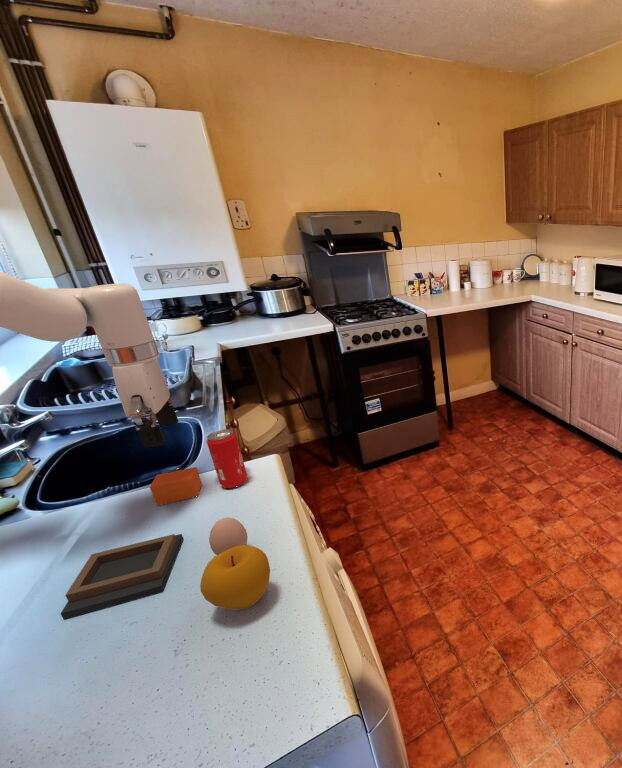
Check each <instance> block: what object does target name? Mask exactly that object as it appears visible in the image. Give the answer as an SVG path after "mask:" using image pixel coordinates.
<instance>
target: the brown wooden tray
mask: <svg viewBox="0 0 622 768" xmlns="http://www.w3.org/2000/svg"><path fill="white" fill-rule="evenodd" d="M183 542H184V536H183V534H182V533H179V534H174V533H173V534H169V535H165V536H160V537H155V538H152V539H147V540H144V541H141V542H136V543H132V544H128V545H124V546H120V547H115V548H112V549H107V550H103V551H99V552H95V553H92V554H91V555H90V557H88V559H87V561H86V562H85V564H84V565H83V567H82V569H81V570H80V571H79V573H78V575H77V576H76V578H75V580H74V581H73V583H71V586H70V587H69V589H68V590H67V592H66V594H65V598H66V600H67V603H66V604H65V606H64V607H63V609H62V610H61V611H60V616H61V618H62V619H63V620H67V619H71V618H74V617H78V616H81V615H85V614H88V613H93V612H95V611H100V610H102V609H106V608H109V607H114V606H117V605H120V604H124V603H127V602H131V601H135V600H138V599H143V598H146V597H149V596H153V595H156V594H159V593H163V592H164V590H165V588H166V585H167V583H168V580H169V577H170V575H171V572H172V570H173V567H174V565H175V562H176V559H177V557H178V554H179V551H180V549H181V547H182V545H183Z"/></svg>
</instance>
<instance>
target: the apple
mask: <svg viewBox="0 0 622 768" xmlns="http://www.w3.org/2000/svg"><path fill="white" fill-rule="evenodd" d="M270 577H271V567H270V562H269V559H268V556H267V554H266V553H265V552H264V551H263V550H262V549H260V548H259V547H256V546H252V545H247V544H246V545H241V546H236V547H233V548H231V549H228V550H226V551H224V552H222V553H220V554H219V555H215V556H213V557H212V559H211V560H210V561H209V562H207V564H206V565H205V568H204V570H203V573H202V576H201V579H200V593H201V594H202V596H203V598H204V599H205V601H207V602H209V603H210V604H211V605H213V606H214V607H219V608H223V609H226V610H227V609H228V610H233V611H234V610H236V611H237V610H238V611H240V610H245V609H248V608H251V607H252V606H254V605H255V604H256V603H257V602H258V601H260V600H261V598H262V597H263V596H264V595H265V593H266V591H267V588H268V586H269V582H270V579H271V578H270Z"/></svg>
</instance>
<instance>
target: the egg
mask: <svg viewBox="0 0 622 768" xmlns="http://www.w3.org/2000/svg"><path fill="white" fill-rule="evenodd" d="M208 543H209V547H210V550H211V551H212V552H213V553H214V555H215V556H217V555H219V554H220V553H222V552H224V551H226V550H228V549H231V548H233V547H236V546H241V545H247V543H248V532H247V529H246V528H245V526H244V525H243V523H241V521H239V520H238V519H235V518H233V517H222V518H219V520H217V521H215V523H214V524H213V525H212V527H211V529H210V532H209V537H208Z"/></svg>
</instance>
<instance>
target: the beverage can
mask: <svg viewBox="0 0 622 768" xmlns="http://www.w3.org/2000/svg"><path fill="white" fill-rule="evenodd" d="M206 444H207V448H208V451H209V455H210V457H211V461H212V463H213V466H214V470H215V472H216V476H217V479H218V482H219V484H220V486H222V488H224V487H225V488H233V487H236V486H239V485H241V484H243V483H244V482H245V481H246V482H247V479H248V472H247V469H246V466H245V462H244V459H243V455H242V452H241V451H242V450H241V447H240V445H239V441H238V437H237V434H236V433H235V432H234V430H233V429H231V428H230V429H229V428H224V429H219V430H216V431H213V432H211V433H209V434H208V435H207V436H206ZM246 482H245V483H246ZM245 483H244V484H245ZM244 484H243V485H244ZM241 486H242V485H241ZM239 487H240V486H239ZM225 488H224V489H225ZM233 489H234V488H233Z"/></svg>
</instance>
